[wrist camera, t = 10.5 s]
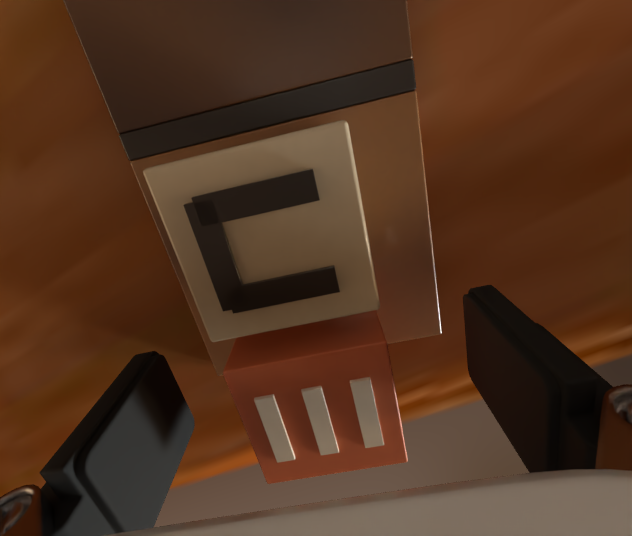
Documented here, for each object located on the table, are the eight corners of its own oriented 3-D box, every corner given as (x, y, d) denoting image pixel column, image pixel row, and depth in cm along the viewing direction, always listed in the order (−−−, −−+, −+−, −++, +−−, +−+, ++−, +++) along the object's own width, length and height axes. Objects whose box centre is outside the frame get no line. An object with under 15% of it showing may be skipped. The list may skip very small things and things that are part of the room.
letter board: (-80, -380, 7) (-114, -424, 7) (340, -555, 6) (343, -620, 6) (221, 367, 14) (217, 376, 14) (437, 326, 13) (442, 334, 13)
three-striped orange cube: (253, 292, 12) (220, 374, 8) (362, 269, 12) (387, 344, 8) (282, 379, 14) (266, 488, 9) (380, 361, 13) (409, 466, 9)
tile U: (208, 155, 10) (136, 170, 6) (335, 124, 10) (347, 118, 6) (246, 272, 12) (208, 347, 8) (358, 248, 12) (382, 313, 7)
